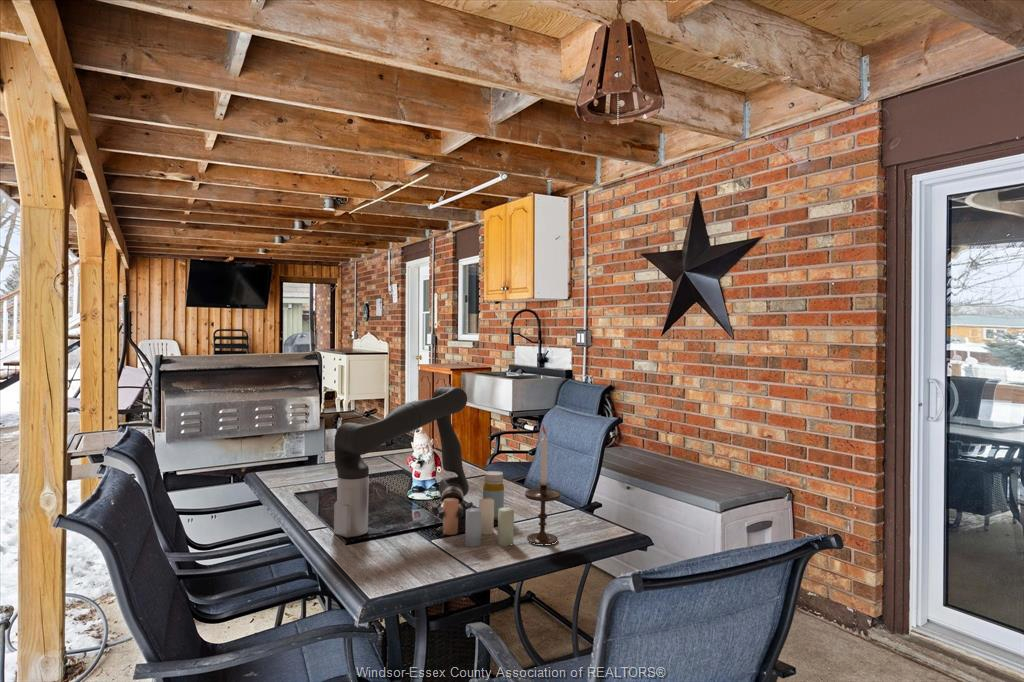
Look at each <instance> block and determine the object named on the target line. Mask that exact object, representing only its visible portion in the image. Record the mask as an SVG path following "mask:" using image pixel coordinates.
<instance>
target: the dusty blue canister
mask: <svg viewBox="0 0 1024 682" xmlns="http://www.w3.org/2000/svg"><path fill="white" fill-rule="evenodd" d="M481 513H482V510H481V509H479V507H473V508H469V509H466V515H465V527H464V528H465V531H464V533H465V535H464V537H465V539H464V545H465V546H466V547H468V546H469V548H477V547H476V546H478V547H480V546H481V545H482V534H481Z"/></svg>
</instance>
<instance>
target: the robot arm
mask: <svg viewBox="0 0 1024 682" xmlns="http://www.w3.org/2000/svg"><path fill="white" fill-rule="evenodd" d="M467 403H468V396H467V393H466V391H465V390H464V389H462V388H461V387H459V386H439V387H437V388H436V389H435V390H434V392H433V395H432V398H426V399H418V400H414V401H413V400H412V401H409V402H406V403H403V404H401V405H398V406H396V407H394V408H393V409H391V410H390V411H389V412H387V413H388V414H387V415H386V416H385V417H384V418H382V419H380V420H378V421H375V422H371V423H367V424H360V423H356V422H355V423H354V422H344V423H342V424H340V426H338V428H337V430H336V431H335V435H334V447H333V448H334V466H335V469H336V472H337V483H336V484H337V486H336V487H337V492H336V493H337V494H336V495H337V496H336V497H337V498H336V501H334V503H333V504H334V506H333V512H334V513H333V516H334V517H333V534H335V535H337V536H340V537H343V538H350V537H359V536H363V535H365V534H367V533H368V531H369V487H370V486H369V483H370V482H369V479H370V476H369V474H370V473H369V472H370V471H369V465H367V463H366V462H365V461H364V460H363V458H362V455H367V454H368V453H370V452H372V451H374V450H375V449H376V448H380V446H382V445H383V444H385V443H387V442H389V441H391V440H394V439H397V438H399V437H401V436H403V435H407V434H408V433H411V432H414V431H416V430H417V429H420V428H421V427H424V426H425V425H428V424H430V423H432V422H434V421H436V425H437V431H438V434H439V439H440V445H441V447H440V448H441V460H442V462H441V463H442V464H441V465H442V468H443V470H444V471H445V472H447V473H448V472H449V473H454V474H455V475H456V476H454V477H453V476H451V477H450V476H449V477H444V478H442V479H441V480H440V481H439V484H438V491H439V494H440V496H441V498H440V502H438V504H437V503H436V502H434V501H431V502H430V506H429V507H430V509H429V510H430V512H431V513H432V515H433V516H438V518H440V519H441V520H443V502H444V499H447V498H456V499H458V500H459V501H458V520H459V519H460V520H461V518H463V515H465V516H466V509H469V508H474V502H472V501H469V502H467V503H465V500H464V497H465V496H467V494H468V493H469V489H470V487H469V486H470V485H469V483H468V479H467V477H466V475H465V470H464V466H463V456H462V446H461V442H460V440H459V437H458V436H457V433H456V432H455V430H454V428H453V427H454V426H453V425H452V421H451V415H453V414H457V413H460V412H461V411H463V410H464V409H465V407H466V405H467Z"/></svg>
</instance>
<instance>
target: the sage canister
mask: <svg viewBox="0 0 1024 682" xmlns="http://www.w3.org/2000/svg"><path fill="white" fill-rule="evenodd" d="M514 521H515V509H514V508H511V507H504V508H500V509H498V520H497V545H498V544H499V545H498V546H500V545H502V546H501V547H509V546H508V545H511V544H513V545H514V530H515V529H514V528H515V525H514V524H515V522H514Z"/></svg>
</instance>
